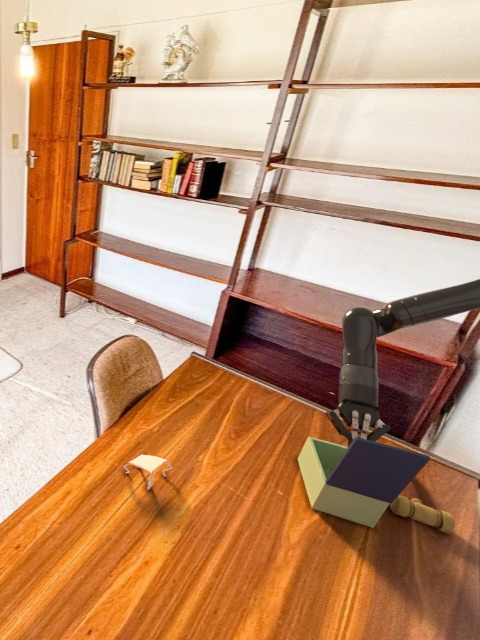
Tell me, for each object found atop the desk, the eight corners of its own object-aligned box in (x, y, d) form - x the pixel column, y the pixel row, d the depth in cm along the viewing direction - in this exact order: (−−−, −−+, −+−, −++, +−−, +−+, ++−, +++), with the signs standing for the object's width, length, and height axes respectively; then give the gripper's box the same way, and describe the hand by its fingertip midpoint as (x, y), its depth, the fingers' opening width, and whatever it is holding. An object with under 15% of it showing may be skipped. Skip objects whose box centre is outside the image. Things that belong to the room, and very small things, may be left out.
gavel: (377, 446, 111) (423, 461, 107) (371, 458, 113) (416, 473, 108) (401, 504, 93) (458, 524, 89) (393, 517, 95) (448, 538, 91)
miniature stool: (139, 496, 98) (142, 483, 96) (120, 469, 105) (123, 456, 103) (177, 482, 102) (181, 469, 100) (157, 457, 109) (160, 444, 107)
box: (297, 459, 110) (308, 436, 106) (350, 474, 106) (364, 451, 102) (311, 508, 97) (324, 484, 93) (373, 528, 93) (389, 503, 89)
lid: (355, 436, 84) (356, 439, 84) (429, 455, 80) (431, 458, 80) (324, 481, 93) (325, 484, 92) (389, 500, 89) (391, 504, 88)
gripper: (381, 394, 100) (380, 466, 95) (320, 380, 104) (316, 448, 99) (400, 391, 93) (399, 468, 88) (334, 376, 97) (330, 449, 92)
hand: (355, 457), depth 94 cm, fingers closed
